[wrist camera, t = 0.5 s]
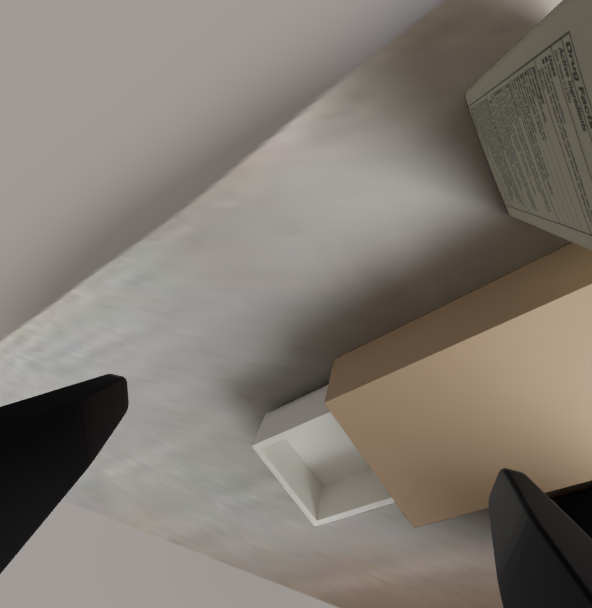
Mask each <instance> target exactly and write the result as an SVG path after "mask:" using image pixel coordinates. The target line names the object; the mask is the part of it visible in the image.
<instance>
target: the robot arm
mask: <svg viewBox="0 0 592 608" xmlns="http://www.w3.org/2000/svg"><path fill="white" fill-rule="evenodd" d="M127 409H128V390H127V381H126V379H125V378H124V377H122V376H118V375H114V374H107V375H104V376H100V377H97V378H94V379H90V380H87V381H84V382H81V383H77V384H74V385H71V386H68V387H64V388H61V389H58V390H54V391H51V392H48V393H45V394H41V395H38V396H35V397H32V398H28V399H25V400H22V401H19V402H15V403H12V404H9V405H5V406H2V407H0V574H1V572H2V571H3V570H4V568H5V567H6V566H7V565H8V564H9V563H10V562H11V560H12V559H13V558H14V557H15V555H16V554H17V553H18V552H19V551H20V549H21V548H22V547H23V546H24V544H25V543H26V542H27V541H28V540H29V539H30V537H31V536H32V535H33V534H34V533H35V531H36V530H37V529H38V528H39V526H40V525H41V524H42V523H43V521H44V520H45V519H46V518H47V517H48V516H49V514H50V513H51V512H52V511H53V509H54V508H55V507H56V506H57V505H58V503H59V502H60V501H61V500H62V499H63V497H64V496H65V495H66V494H67V493H68V491H69V490H70V489H71V488H72V487H73V485H74V484H75V483H76V482H77V481H78V479H79V478H80V477H81V476H82V474H83V473H84V472H85V471H86V469H87V468H88V467H89V466H90V464H91V463H92V462H93V460H94V459H95V457H96V456H97V455H98V453H99V452H100V450H101V449H102V447H103V446H104V444H105V443H106V441H107V440H108V438H109V437H110V436H111V434H112V433H113V431H114V430H115V428H116V427H117V425H118V424H119V422H120V421H121V419H122V418H123V416H124V415H125V413H126V411H127ZM488 506H489V515H490V523H491V531H492V540H493V548H494V556H495V564H496V572H497V579H498V585H499V590H500V594H501V599H502V603H503V608H592V488H591V489H587V490H583V491H580V492H576V493H572V494H568V495H564V496H561V497H557V498H553V499H550V498H549V497H548V496H547V495H546V494H545V493H544V492H543V491H542V490H541V489H540V488H539V487H538V486H537V485H536V484H535V483H534V482H533V481H532V480H531V479H530V478H529V477H528V476H527V475H526V474H524V473H523V472H520V471H516V470H512V469H508V468H503V469H501V470H500V471H499V473H498V475H497V478H496V480H495V483H494V485H493V488H492V490H491V493H490V496H489V502H488Z"/></svg>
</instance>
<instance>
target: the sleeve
mask: <svg viewBox="0 0 592 608" xmlns="http://www.w3.org/2000/svg"><path fill="white" fill-rule="evenodd" d="M324 404H325V405H326V406H327V408H328V409H329V411H330V412H331V413H332V415H333V416H334V417H335V419H336V420H337V422H338V423H339V424H340V426H341V427H342V429H343V430H344V431H345V433H346V434H347V436H348V437H349V438H350V440H351V441H352V443H353V444H354V445H355V447H356V448H357V449H358V451H359V452H360V454H361V455H362V456H363V458H364V459H365V461H366V462H367V463H368V465H369V466H370V468H371V469H372V470H373V472H374V473H375V475H376V476H377V477H378V479H379V480H380V482H381V483H382V484H383V486H384V487H385V488H386V490H387V491H388V493H389V494H390V495H391V497H392V498H393V500H394V501H395V502H396V504H397V505H398V507H399V508H400V509H401V511H402V512H403V514H404V515H405V516H406V518H407V519H408V521H409V522H410V523H411V525H412V526H413V527H414V528H416V527H420V526H424V525H428V524H431V523H435V522H439V521H442V520H446V519H450V518H454V517H457V516H461V515H465V514H468V513H472V512H476V511H480V510H483V509H487V508H489V506H488V502H489V496H490V493H491V490H492V488H493V485H494V483H495V480H496V478H497V475H498V473H499V471H500V470H501V469H503V468H508V469H512V470H516V471H520V472H523V473H524V474H526V475H527V476H528V477H529V478H530V479H531V480H532V481H533V482H534V483H535V484H536V485H537V486H538V487H539V488H540V489H541V490H542V491H543V492H544V493H546V492H550V491H554V490H558V489H561V488H565V487H569V486H572V485H576V484H580V483H583V482H587V481H591V480H592V251H591V250H589V249H587V248H584V247H582V246H580V245H577V244H575V243H573V242H572V243H570V244H568V245H566V246H564V247H562V248H560V249H558V250H556V251H554V252H552V253H550V254H548V255H546V256H544V257H542V258H540V259H538V260H536V261H533V262H531V263H529V264H527V265H525V266H523V267H521V268H519V269H517V270H515V271H513V272H511V273H509V274H507V275H505V276H503V277H501V278H499V279H497V280H495V281H493V282H491V283H489V284H487V285H485V286H483V287H481V288H478V289H476V290H474V291H472V292H470V293H468V294H466V295H464V296H462V297H460V298H458V299H456V300H454V301H452V302H450V303H448V304H446V305H444V306H442V307H440V308H438V309H436V310H434V311H432V312H430V313H428V314H426V315H424V316H421V317H419V318H417V319H415V320H413V321H411V322H409V323H407V324H405V325H403V326H401V327H399V328H397V329H395V330H393V331H391V332H389V333H387V334H385V335H383V336H381V337H379V338H377V339H375V340H373V341H371V342H369V343H366V344H364V345H362V346H360V347H358V348H356V349H354V350H352V351H350V352H348V353H346V354H344V355H342V356H340V357H338V358H336V359H334V363H333V367H332V371H331V376H330V380H329V384H328V388H327V393H326V397H325V401H324Z"/></svg>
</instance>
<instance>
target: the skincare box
mask: <svg viewBox="0 0 592 608" xmlns="http://www.w3.org/2000/svg"><path fill="white" fill-rule="evenodd" d="M465 97H466V101H467V104H468V107H469V110H470V113H471V116H472V119H473V122H474V125H475V128H476V130H477V133H478V136H479V139H480V142H481V145H482V147H483V150H484V153H485V155H486V158H487V160H488V163H489V166H490V168H491V171H492V174H493V176H494V179H495V181H496V184H497V186H498V189H499V191H500V193H501V196H502V198H503V201H504V203H505V205H506V207H507V210H508V212H509V214H510V216H512V217H514V218H516V219H519V220H521V221H523V222H526V223H528V224H530V225H533V226H535V227H537V228H540V229H542V230H545V231H547V232H549V233H551V234H554V235H556V236H558V237H561V238H564V239H566V240H568V241H570V242H573V243H575V244H577V245H580V246H582V247H584V248H587V249H589V250H591V251H592V0H563V1H562V2H561V3H560V4H559V5H557V6H556V7H555V8H554V9H553V10H552V11H551V12H550V13H549V14H548V15H547V16H546V17H545V18H544V19H543V20H542V21H541V22H540V23H538V24H537V25H536V26H535V27H534V28H533V29H532V30H531V31H530V32H529V33H528V34H527V35H526V36H525V37H524V38H523V39H522V40H520V41H519V42H518V43H517V44H516V45H515V46H514V47H513V48H512V49H511V50H509V51H508V52H507V53H506V54H505V55H504V56H503V57H502V58H501V59H500V60H499V61H498V62H497V63H496V64H495V65H494V66H493V67H492V68H490V69H489V70H488V71H487V72H486V73H485V74H484V75H483V76H482V77H481V78H480V79H479V80H478V81H477V82H476V83H475V84H473V85H472V86H471V87H470V88H469V89H468V90H467V91H466V94H465Z"/></svg>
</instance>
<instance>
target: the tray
mask: <svg viewBox="0 0 592 608" xmlns="http://www.w3.org/2000/svg"><path fill="white" fill-rule="evenodd" d="M327 388H328V385H327V386H324V387H322V388H320V389H318V390H316V391H314V392H312V393H309V394H307V395H305V396H303V397H301V398H299V399H297V400H294V401H292V402H290V403H288V404H286V405H284V406H281V407H279V408H277V409H275V410H273V411H271V412H269V413H266V414H265V416H264V418H263V421H262V423H261V425H260V427H259V430H258V432H257V434H256V436H255V438H254V441H253V443H252V445H251V446H252V448H253V449H254V450H255V452H256V453H257V454H258V455H259V457H260V458H261V459H262V460H263V462H264V463H265V464H266V465H267V467H268V468H269V469H270V471H271V472H272V473H273V474H274V476H275V477H276V478H277V479H278V481H279V482H280V483H281V484H282V486H283V487H284V488H285V489H286V491H287V492H288V493H289V495H290V496H291V497H292V498H293V500H294V501H295V502H296V503H297V505H298V506H299V507H300V508H301V510H302V511H303V512H304V514H305V515H306V516H307V517H308V519H309V520H310V521H311V522H312V524H313V525H314V526H315V527H316V526H319V525H322V524H326V523H329V522H332V521H336V520H339V519H342V518H345V517H349V516H352V515H355V514H359V513H362V512H365V511H369V510H372V509H375V508H378V507H382V506H385V505H388V504H392V503H395V501H394V500H393V498H392V497H391V495H390V494H389V493H388V491H387V490H386V488H385V487H384V486H383V484H382V483H381V482H380V480H379V479H378V477H377V476H376V475H375V473H374V472H373V470H372V469H371V468H370V466H369V465H368V463H367V462H366V461H365V459H364V458H363V456H362V455H361V454H360V452H359V451H358V449H357V448H356V447H355V445H354V444H353V443H352V441H351V440H350V438H349V437H348V436H347V434H346V433H345V431H344V430H343V429H342V427H341V426H340V424H339V423H338V422H337V420H336V419H335V417H334V416H333V415H332V413H331V412H330V411H329V409H328V408H327V406H326V405H325V404H324V401H325V397H326V393H327Z"/></svg>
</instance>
